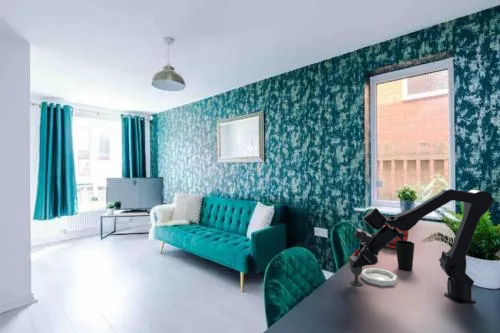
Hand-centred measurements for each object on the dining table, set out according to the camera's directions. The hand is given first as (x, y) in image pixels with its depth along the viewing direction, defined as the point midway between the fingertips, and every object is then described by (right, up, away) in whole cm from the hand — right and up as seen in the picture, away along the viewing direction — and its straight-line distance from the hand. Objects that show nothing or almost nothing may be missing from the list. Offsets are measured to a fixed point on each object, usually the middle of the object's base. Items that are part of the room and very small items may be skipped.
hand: (352, 262), depth 107 cm
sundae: (+1, -8, -1) cm, 9 cm away
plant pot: (+44, -8, +47) cm, 65 cm away
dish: (+12, -8, +4) cm, 15 cm away
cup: (+30, -8, +14) cm, 34 cm away
